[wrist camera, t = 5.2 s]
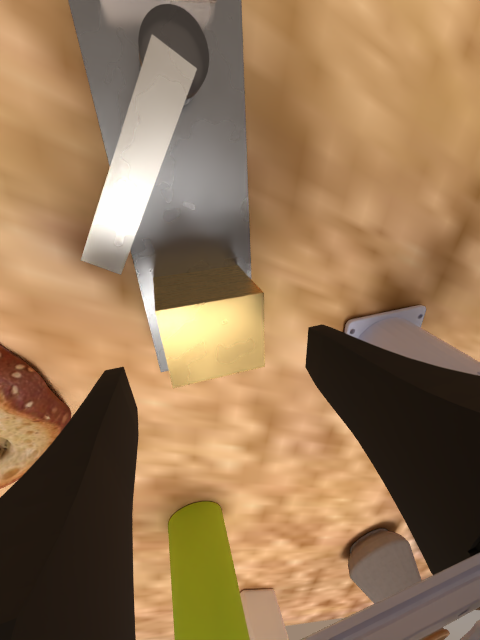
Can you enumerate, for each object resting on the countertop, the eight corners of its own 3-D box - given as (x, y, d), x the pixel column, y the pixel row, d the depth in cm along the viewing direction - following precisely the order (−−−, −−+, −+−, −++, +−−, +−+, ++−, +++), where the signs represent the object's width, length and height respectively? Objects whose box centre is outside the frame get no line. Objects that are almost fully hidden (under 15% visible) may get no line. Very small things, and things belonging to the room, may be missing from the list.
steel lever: (131, 263, 13) (129, 277, 12) (81, 244, 12) (70, 256, 11) (208, 60, 11) (221, 38, 9) (152, 14, 10) (153, -20, 8)
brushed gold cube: (241, 327, 17) (264, 366, 14) (167, 342, 16) (172, 388, 13) (237, 265, 15) (263, 292, 12) (153, 277, 14) (155, 311, 11)
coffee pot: (355, 563, 53) (420, 687, 41) (329, 554, 47) (396, 696, 34) (447, 498, 51) (547, 607, 38) (432, 479, 45) (544, 601, 32)
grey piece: (240, 329, 21) (264, 370, 17) (159, 345, 20) (162, 394, 15) (219, -27, 12) (258, -132, 8) (66, -41, 11) (15, -176, 6)
